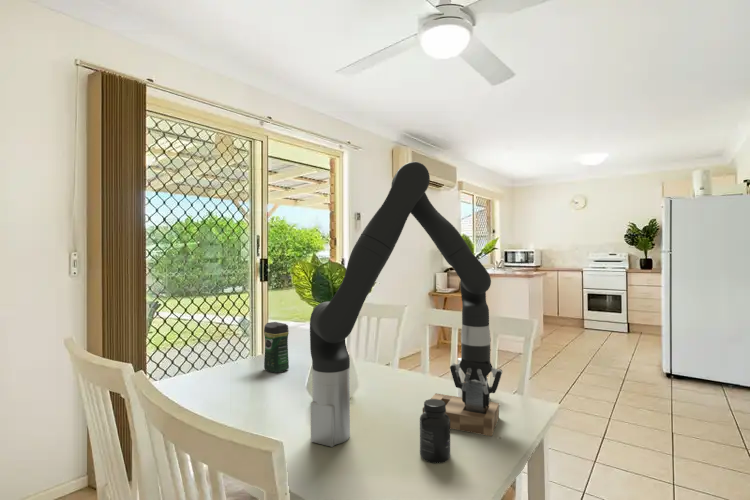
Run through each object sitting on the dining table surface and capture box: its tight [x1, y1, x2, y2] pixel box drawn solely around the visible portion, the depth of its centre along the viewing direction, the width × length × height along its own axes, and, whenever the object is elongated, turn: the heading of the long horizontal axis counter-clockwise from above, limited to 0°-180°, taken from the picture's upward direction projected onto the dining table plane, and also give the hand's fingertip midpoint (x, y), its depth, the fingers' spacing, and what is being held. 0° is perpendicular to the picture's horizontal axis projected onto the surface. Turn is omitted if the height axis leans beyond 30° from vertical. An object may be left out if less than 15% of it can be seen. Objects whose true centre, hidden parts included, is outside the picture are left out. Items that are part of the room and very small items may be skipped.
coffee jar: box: [263, 321, 290, 373], centre depth 152 cm, size 10×8×19 cm
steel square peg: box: [466, 380, 486, 414], centre depth 104 cm, size 4×4×9 cm
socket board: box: [422, 393, 500, 437], centre depth 106 cm, size 12×18×4 cm, turn 64°
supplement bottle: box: [419, 398, 451, 464], centre depth 87 cm, size 7×7×12 cm
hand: (475, 405), depth 104 cm, fingers closed on steel square peg, 4 cm apart
